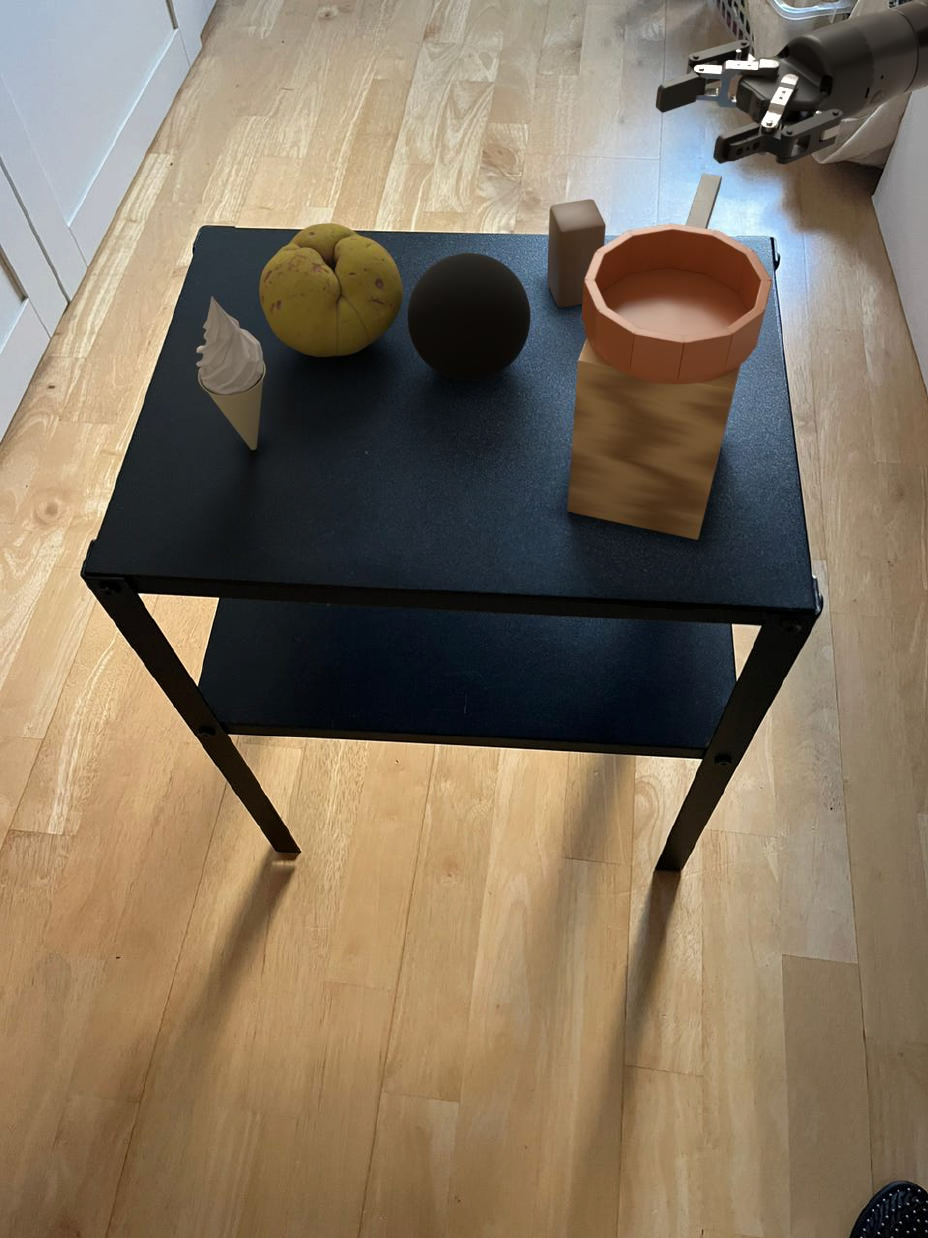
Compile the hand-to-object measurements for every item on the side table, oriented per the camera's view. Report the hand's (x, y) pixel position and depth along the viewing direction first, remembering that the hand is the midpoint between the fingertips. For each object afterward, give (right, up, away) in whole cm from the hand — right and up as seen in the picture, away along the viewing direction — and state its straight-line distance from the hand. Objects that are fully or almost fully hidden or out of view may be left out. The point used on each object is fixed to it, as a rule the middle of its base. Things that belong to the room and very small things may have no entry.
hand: (687, 124), depth 85 cm
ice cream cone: (-35, -27, -1) cm, 44 cm away
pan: (-4, -18, -15) cm, 24 cm away
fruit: (-29, -16, +6) cm, 34 cm away
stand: (-4, -30, -5) cm, 30 cm away
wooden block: (-9, -11, +8) cm, 16 cm away
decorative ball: (-18, -19, +3) cm, 26 cm away
